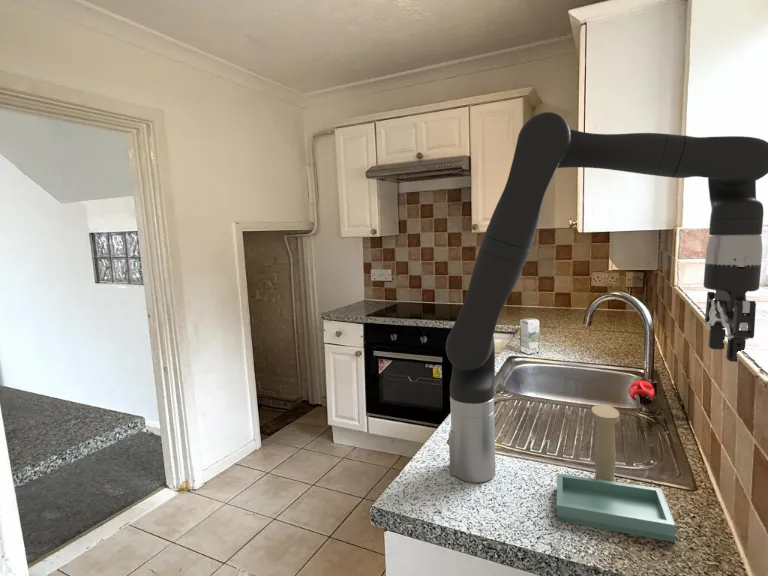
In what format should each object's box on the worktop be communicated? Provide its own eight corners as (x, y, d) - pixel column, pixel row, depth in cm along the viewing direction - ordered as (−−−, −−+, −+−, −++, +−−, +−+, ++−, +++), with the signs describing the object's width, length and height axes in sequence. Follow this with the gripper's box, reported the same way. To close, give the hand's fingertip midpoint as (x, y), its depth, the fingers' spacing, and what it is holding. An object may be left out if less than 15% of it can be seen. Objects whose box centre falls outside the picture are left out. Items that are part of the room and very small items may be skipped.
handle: (614, 474, 92) (615, 406, 91) (621, 491, 86) (622, 418, 85) (589, 472, 94) (589, 404, 92) (594, 489, 88) (594, 416, 86)
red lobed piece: (659, 395, 126) (658, 379, 130) (637, 387, 127) (637, 371, 131) (646, 409, 131) (645, 394, 136) (625, 402, 133) (625, 387, 137)
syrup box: (531, 350, 191) (530, 317, 190) (539, 353, 186) (539, 319, 184) (519, 352, 189) (519, 318, 188) (528, 355, 184) (528, 321, 182)
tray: (556, 520, 79) (556, 505, 78) (557, 487, 89) (557, 473, 88) (674, 542, 72) (675, 525, 72) (660, 503, 82) (661, 488, 82)
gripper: (693, 259, 83) (687, 344, 85) (721, 264, 69) (714, 363, 71) (741, 260, 80) (734, 347, 82) (780, 264, 67) (771, 368, 69)
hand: (725, 354), depth 77 cm, fingers open, 8 cm apart
